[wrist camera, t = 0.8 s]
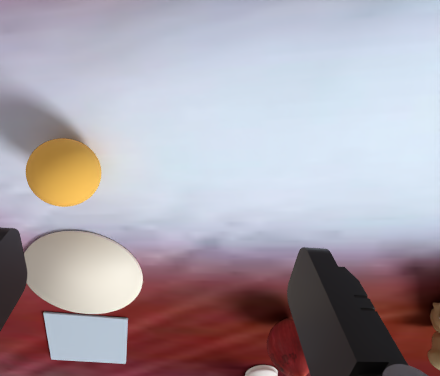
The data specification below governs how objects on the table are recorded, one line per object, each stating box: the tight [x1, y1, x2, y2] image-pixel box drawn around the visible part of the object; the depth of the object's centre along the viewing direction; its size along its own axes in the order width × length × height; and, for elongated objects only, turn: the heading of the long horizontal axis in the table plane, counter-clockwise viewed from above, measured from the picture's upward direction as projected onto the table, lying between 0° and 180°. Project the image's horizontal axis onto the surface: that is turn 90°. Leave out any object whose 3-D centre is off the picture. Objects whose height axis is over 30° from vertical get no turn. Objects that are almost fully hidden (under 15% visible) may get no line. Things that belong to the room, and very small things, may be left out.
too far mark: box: [43, 312, 128, 364], centre depth 43 cm, size 10×10×1 cm
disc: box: [24, 231, 143, 314], centre depth 37 cm, size 13×13×1 cm
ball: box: [26, 138, 101, 207], centre depth 26 cm, size 6×6×6 cm
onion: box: [267, 318, 309, 376], centre depth 39 cm, size 6×6×8 cm
